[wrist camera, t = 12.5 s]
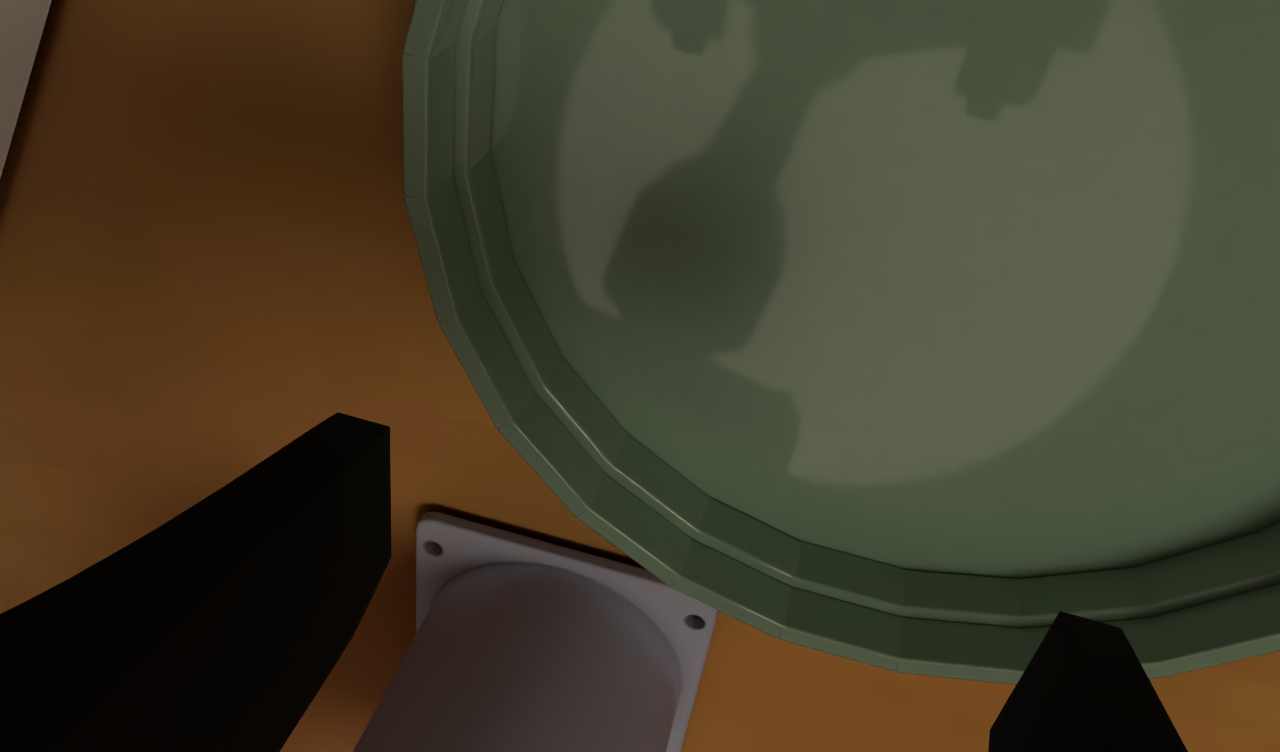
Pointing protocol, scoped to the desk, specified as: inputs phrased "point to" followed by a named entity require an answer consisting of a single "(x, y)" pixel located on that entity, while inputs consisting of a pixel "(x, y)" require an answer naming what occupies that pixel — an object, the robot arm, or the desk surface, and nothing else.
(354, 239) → the desk surface
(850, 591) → the green round tray
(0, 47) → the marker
